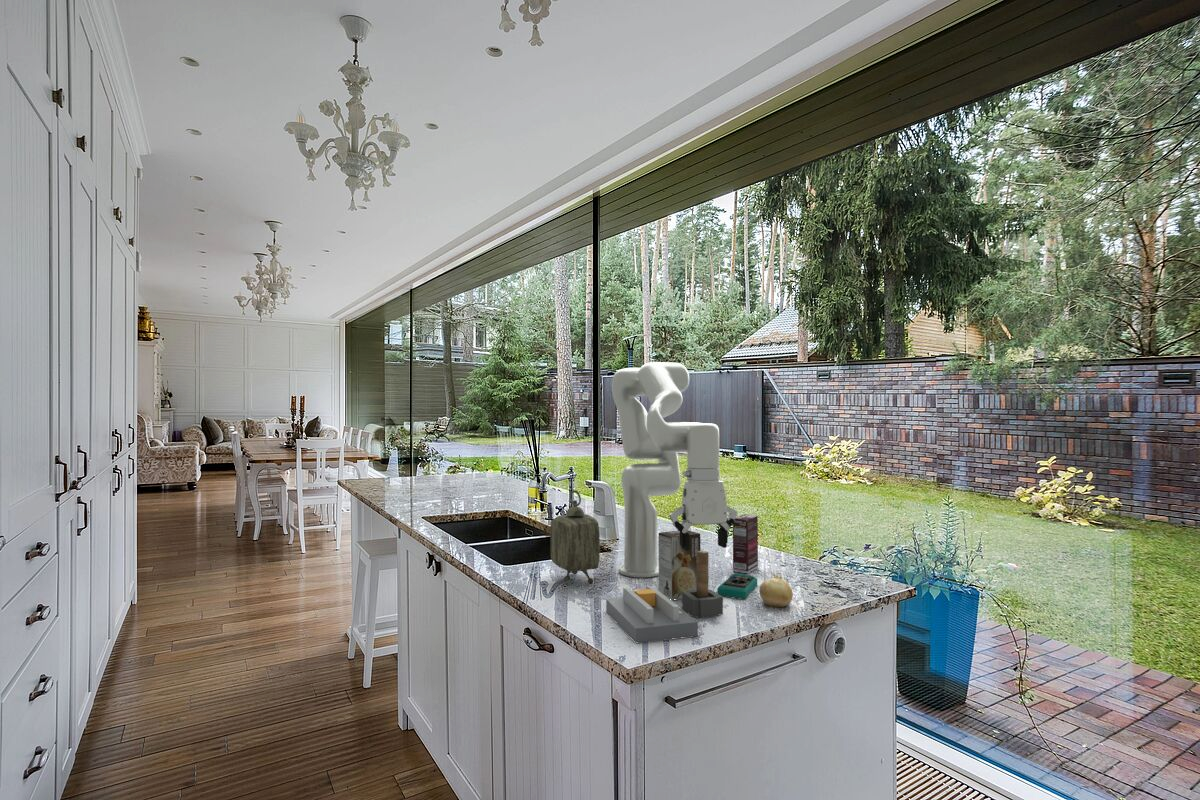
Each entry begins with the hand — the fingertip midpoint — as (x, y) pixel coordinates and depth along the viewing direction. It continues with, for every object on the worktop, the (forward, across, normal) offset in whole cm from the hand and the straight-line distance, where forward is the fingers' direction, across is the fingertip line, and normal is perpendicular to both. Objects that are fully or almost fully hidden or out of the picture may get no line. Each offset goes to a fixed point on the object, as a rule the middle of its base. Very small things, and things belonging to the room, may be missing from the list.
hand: (703, 547), depth 146 cm
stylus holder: (+15, 0, +1) cm, 15 cm away
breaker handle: (+12, -15, 0) cm, 19 cm away
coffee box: (+15, 0, +14) cm, 21 cm away
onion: (+16, +20, +1) cm, 25 cm away
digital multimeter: (+16, +17, +14) cm, 27 cm away
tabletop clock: (+14, -23, +34) cm, 44 cm away
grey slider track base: (+15, -15, -3) cm, 22 cm away
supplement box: (+15, +29, +31) cm, 45 cm away
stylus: (+15, 0, +1) cm, 15 cm away
